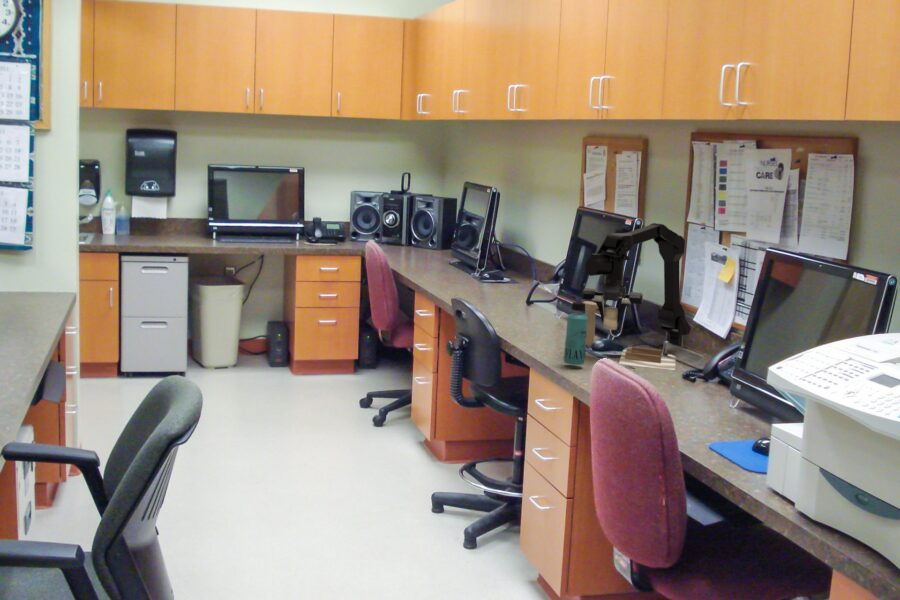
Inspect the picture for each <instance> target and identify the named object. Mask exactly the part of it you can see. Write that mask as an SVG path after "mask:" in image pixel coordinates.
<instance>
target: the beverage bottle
mask: <svg viewBox="0 0 900 600" xmlns="http://www.w3.org/2000/svg"><path fill="white" fill-rule="evenodd" d="M571 305H572V306H571V310H573V311H579V312H571V313H570V314H568V315H567V318H566V320H567V321H566V331H565V332H566V334H565V341H564V352H563V363H564V364H567V365H574V366H580V365H584V363H585V360H586V348H587V347H586V346H587V345H586V335H587V321H588V317H587V316H586V315H585V313H582V312H583V311H584V312H585V311H586V309H585V303H583V302H578V301H575V302H572V304H571Z"/></svg>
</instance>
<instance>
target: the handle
mask: <svg viewBox="0 0 900 600" xmlns="http://www.w3.org/2000/svg"><path fill="white" fill-rule="evenodd" d="M582 303H585V311H584V312H585V313H584V314H585V315H586V316H587V317H588V321H587V335H586V347H585V348H588V349H589V348H590V347H588V346H593V344H594V340H595V332H596V311H597V310H599V308H598V306H597V304H596V303H594V302H593V301H591V300H589V301H588V300H587V301H586V300H585V301H582Z"/></svg>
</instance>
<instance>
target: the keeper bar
mask: <svg viewBox="0 0 900 600" xmlns="http://www.w3.org/2000/svg"><path fill="white" fill-rule="evenodd" d="M668 354H669V355H673V356H676V358H679V359H681V360H683V361H686V362H688V363H691V364H694V365H696V366H698V367H704V365H705V355H703V354H700V353H699V352H695V351H692V350H690V349H687V348H684V347H683V346H682V347H680V346H677V345H674V344H672V343H669V341H666V340H663V346H662V355H668Z"/></svg>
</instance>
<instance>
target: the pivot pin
mask: <svg viewBox="0 0 900 600" xmlns="http://www.w3.org/2000/svg"><path fill="white" fill-rule="evenodd" d="M618 315H619V308H618V307H612V306H606V307H605V306H604V322H602V323H603V324H602V329H604V330H609V331H617V330H618V324H617V321H618Z"/></svg>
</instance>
